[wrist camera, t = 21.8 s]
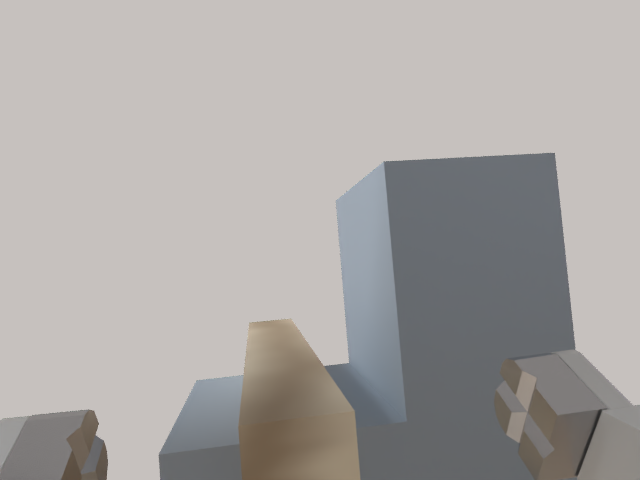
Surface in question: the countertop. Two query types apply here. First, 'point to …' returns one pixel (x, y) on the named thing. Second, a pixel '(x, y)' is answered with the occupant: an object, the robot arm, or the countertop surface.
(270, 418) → the block
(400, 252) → the stepped stand
